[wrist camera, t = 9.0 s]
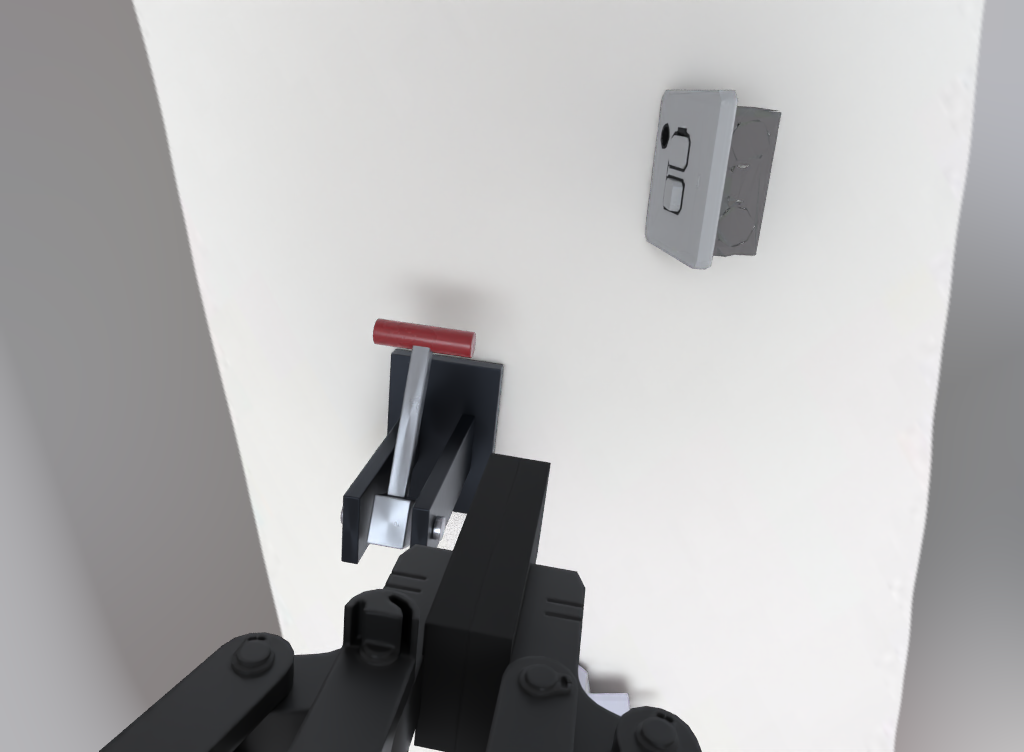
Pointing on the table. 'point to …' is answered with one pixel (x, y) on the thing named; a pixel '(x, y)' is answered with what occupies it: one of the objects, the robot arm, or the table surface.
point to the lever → (409, 421)
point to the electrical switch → (709, 176)
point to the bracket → (431, 449)
